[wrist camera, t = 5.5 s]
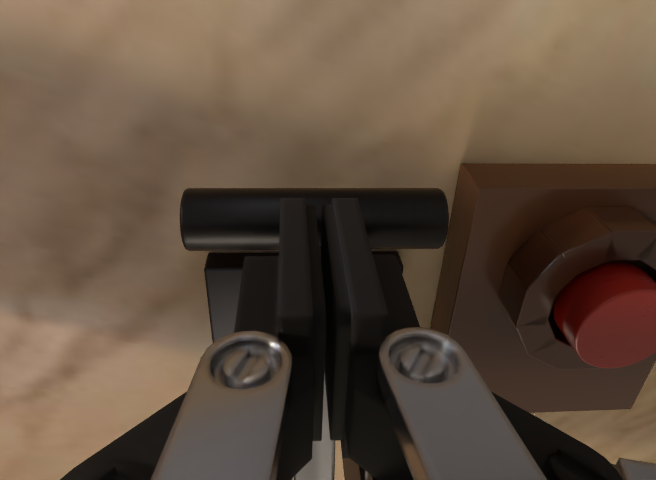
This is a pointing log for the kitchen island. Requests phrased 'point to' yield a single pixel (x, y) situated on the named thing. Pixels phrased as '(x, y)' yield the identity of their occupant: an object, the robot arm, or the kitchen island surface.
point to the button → (609, 315)
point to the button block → (541, 274)
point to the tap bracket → (223, 304)
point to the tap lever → (264, 229)
